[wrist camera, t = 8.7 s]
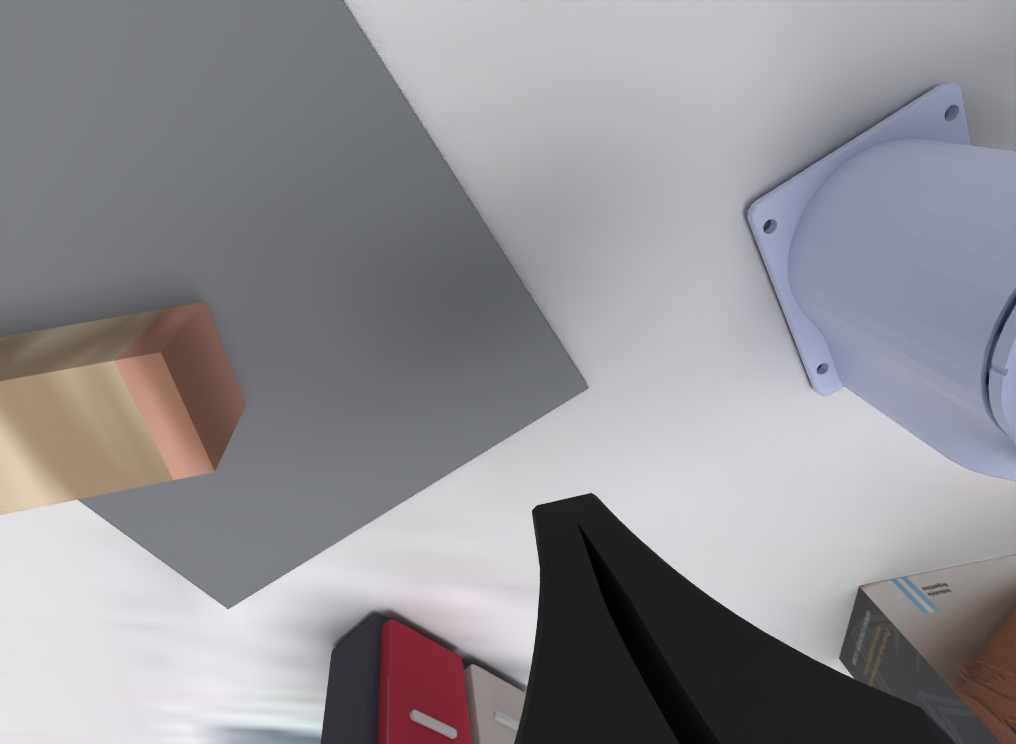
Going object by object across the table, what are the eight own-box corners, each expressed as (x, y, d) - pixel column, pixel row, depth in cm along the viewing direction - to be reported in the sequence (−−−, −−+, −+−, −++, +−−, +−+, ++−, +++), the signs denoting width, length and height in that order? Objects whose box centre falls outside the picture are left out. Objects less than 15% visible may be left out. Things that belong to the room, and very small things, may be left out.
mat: (586, 384, 23) (588, 387, 23) (229, 603, 25) (228, 609, 25) (209, -211, 14) (205, -217, 14) (-306, 209, 16) (-318, 211, 16)
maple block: (160, 352, 16) (-164, 410, 15) (214, 471, 17) (-71, 528, 17) (204, 301, 19) (-56, 346, 18) (246, 405, 21) (11, 450, 20)
